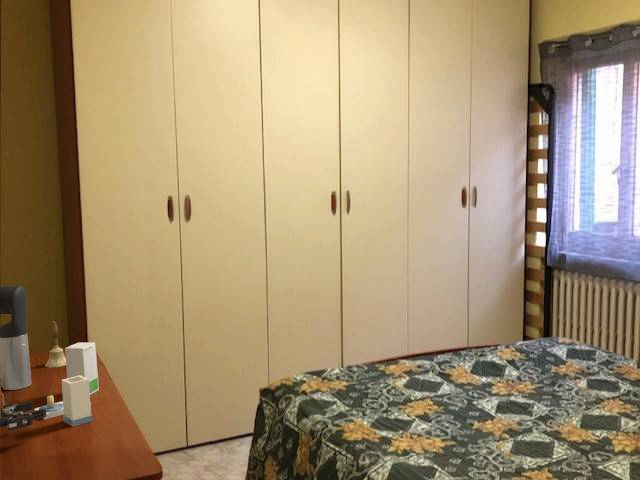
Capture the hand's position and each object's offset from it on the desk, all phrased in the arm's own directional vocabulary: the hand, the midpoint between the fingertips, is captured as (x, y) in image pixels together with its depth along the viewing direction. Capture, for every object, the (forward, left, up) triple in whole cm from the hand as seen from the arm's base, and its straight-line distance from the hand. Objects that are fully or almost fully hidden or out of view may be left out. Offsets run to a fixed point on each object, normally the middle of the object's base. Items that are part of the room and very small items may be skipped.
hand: (38, 408), depth 192 cm
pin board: (0, +17, -6) cm, 18 cm away
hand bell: (-18, +65, -7) cm, 68 cm away
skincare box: (+2, +31, -7) cm, 32 cm away
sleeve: (+8, +7, -6) cm, 12 cm away
